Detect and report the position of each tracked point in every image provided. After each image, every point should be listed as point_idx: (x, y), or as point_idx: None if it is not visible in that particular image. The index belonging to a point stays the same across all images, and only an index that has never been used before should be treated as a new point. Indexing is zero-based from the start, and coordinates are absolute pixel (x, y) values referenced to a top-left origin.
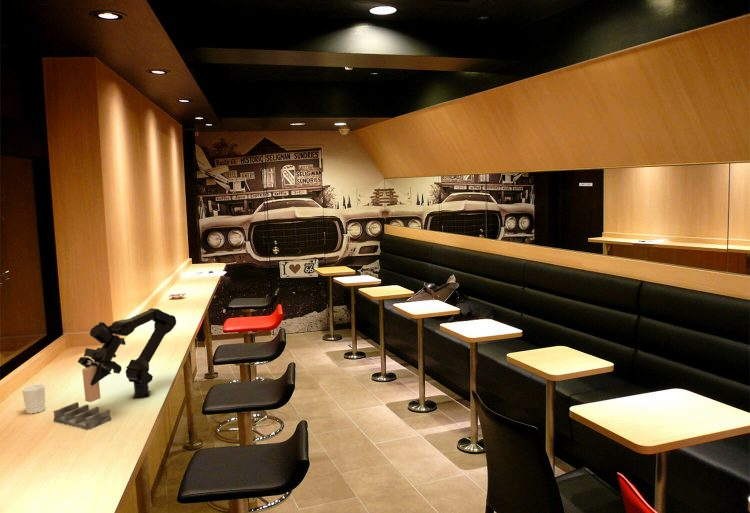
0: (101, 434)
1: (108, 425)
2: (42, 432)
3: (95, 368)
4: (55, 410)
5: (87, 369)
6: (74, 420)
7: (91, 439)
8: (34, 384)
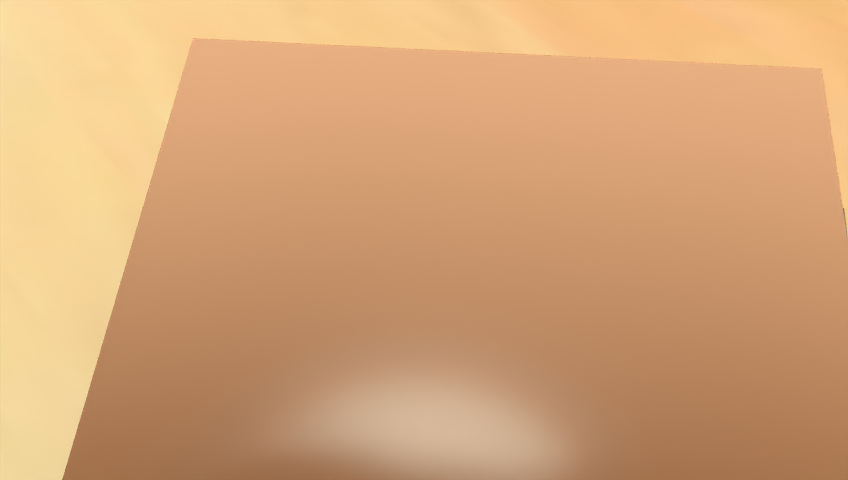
0: (57, 170)
1: None
2: (633, 50)
3: None
4: (846, 231)
5: (276, 107)
6: None
7: (86, 76)
8: None
